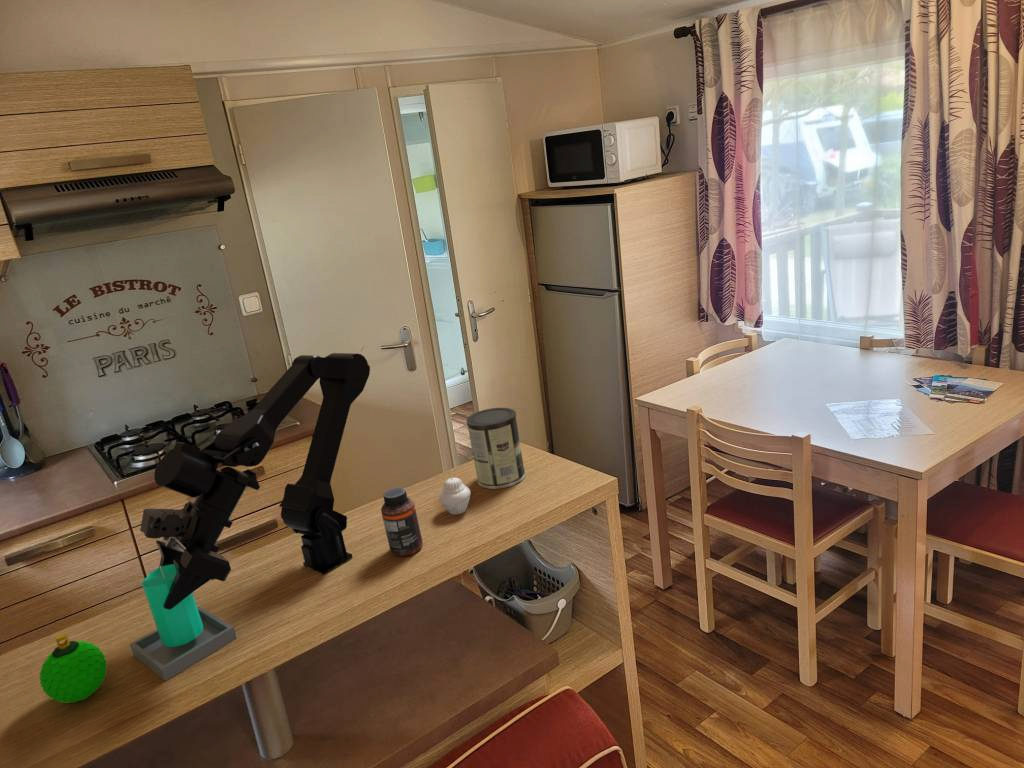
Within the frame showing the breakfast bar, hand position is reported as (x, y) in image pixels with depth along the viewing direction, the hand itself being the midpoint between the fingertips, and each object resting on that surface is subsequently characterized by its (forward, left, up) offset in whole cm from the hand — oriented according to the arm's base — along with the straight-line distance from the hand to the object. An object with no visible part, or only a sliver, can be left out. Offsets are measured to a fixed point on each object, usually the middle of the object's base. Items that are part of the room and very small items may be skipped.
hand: (161, 601), depth 111 cm
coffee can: (-68, +6, -9) cm, 69 cm away
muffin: (-53, +8, -9) cm, 54 cm away
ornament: (+13, -2, -9) cm, 16 cm away
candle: (-1, 0, -7) cm, 7 cm away
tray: (-1, 0, -9) cm, 9 cm away
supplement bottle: (-38, +10, -9) cm, 40 cm away
